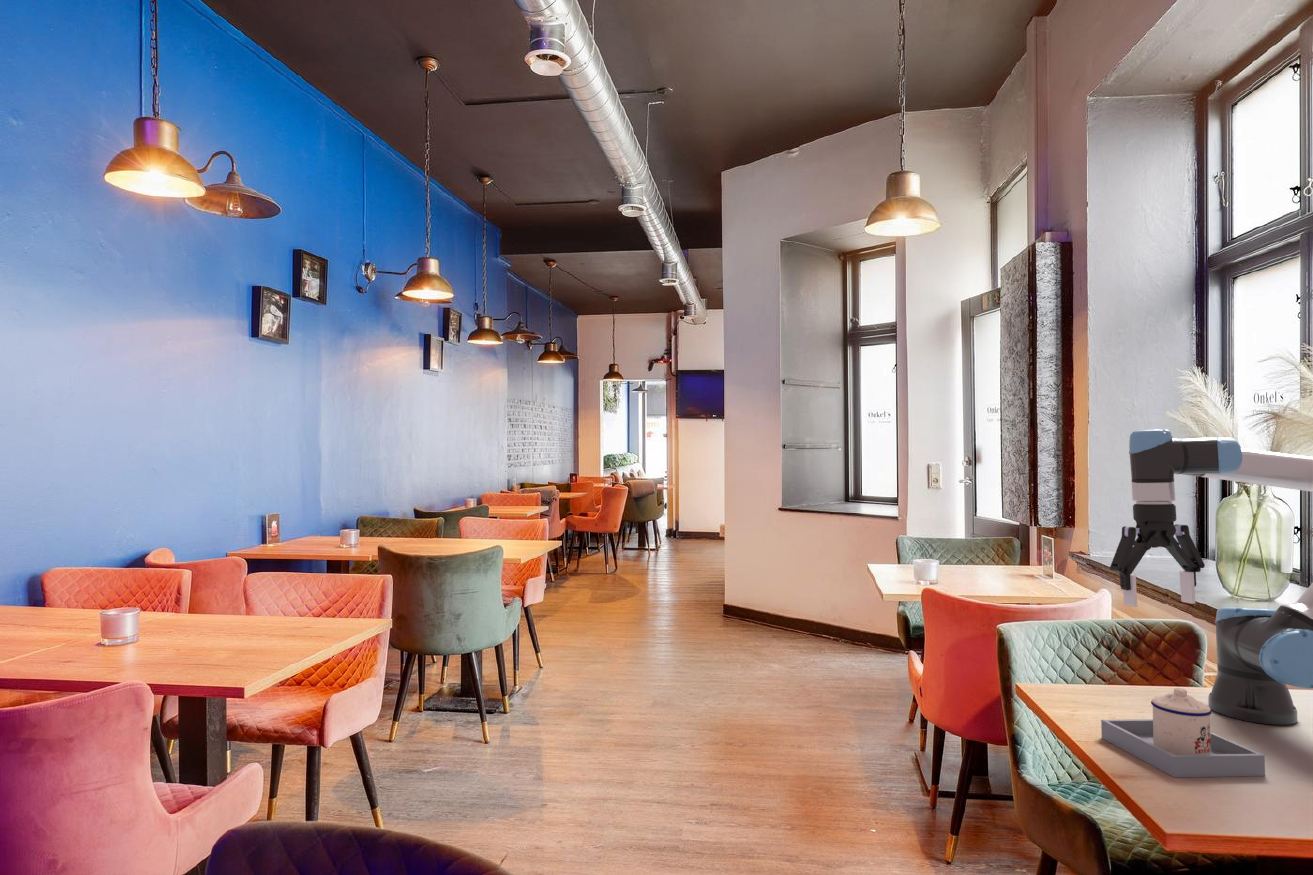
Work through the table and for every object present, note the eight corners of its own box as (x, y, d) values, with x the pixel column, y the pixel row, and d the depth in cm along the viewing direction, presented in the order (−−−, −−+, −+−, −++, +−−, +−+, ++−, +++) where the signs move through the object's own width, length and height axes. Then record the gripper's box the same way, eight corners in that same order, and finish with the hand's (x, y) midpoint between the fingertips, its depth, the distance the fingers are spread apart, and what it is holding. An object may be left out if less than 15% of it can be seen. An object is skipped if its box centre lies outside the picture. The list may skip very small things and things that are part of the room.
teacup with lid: (1208, 767, 128) (1206, 700, 129) (1147, 753, 134) (1145, 689, 135) (1218, 749, 137) (1217, 686, 137) (1160, 736, 143) (1159, 676, 143)
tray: (1181, 736, 145) (1180, 718, 145) (1265, 775, 127) (1264, 755, 127) (1101, 737, 144) (1101, 719, 144) (1174, 777, 126) (1173, 756, 126)
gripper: (1190, 500, 159) (1196, 598, 158) (1087, 503, 156) (1092, 604, 155) (1221, 501, 152) (1228, 604, 151) (1114, 505, 148) (1120, 610, 147)
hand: (1159, 604), depth 153 cm, fingers open, 13 cm apart
